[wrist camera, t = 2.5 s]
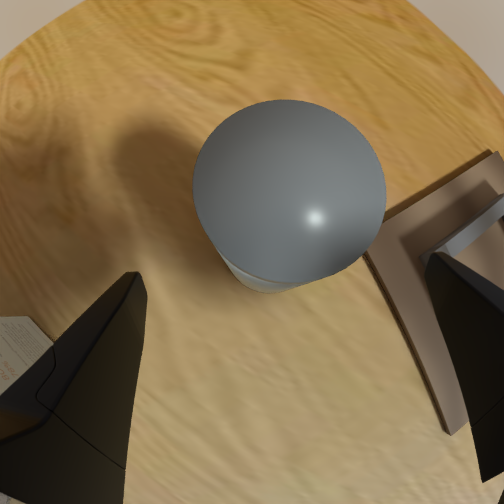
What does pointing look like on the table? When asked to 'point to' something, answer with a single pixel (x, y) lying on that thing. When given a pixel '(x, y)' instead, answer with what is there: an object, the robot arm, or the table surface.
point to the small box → (19, 347)
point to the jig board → (454, 244)
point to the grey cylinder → (288, 194)
